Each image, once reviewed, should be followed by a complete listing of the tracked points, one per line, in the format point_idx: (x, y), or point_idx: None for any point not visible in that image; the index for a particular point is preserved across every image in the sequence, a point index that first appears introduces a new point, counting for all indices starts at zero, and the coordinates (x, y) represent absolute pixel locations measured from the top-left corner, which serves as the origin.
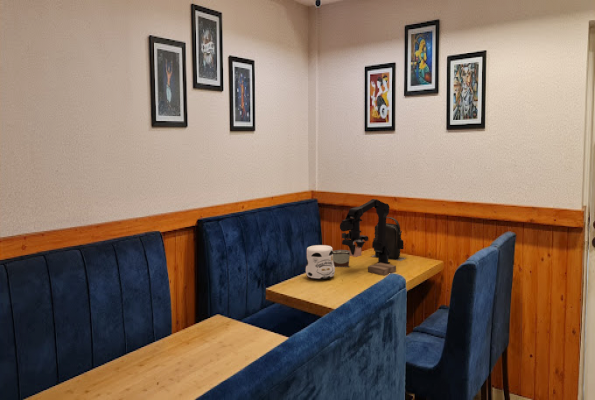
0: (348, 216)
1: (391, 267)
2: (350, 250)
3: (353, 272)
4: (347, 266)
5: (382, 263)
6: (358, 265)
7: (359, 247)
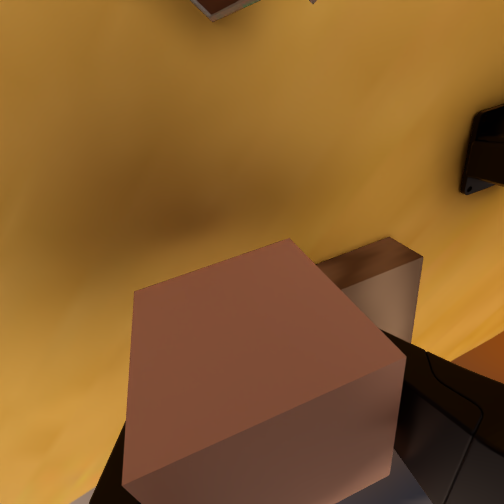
0: None
1: None
2: (103, 473)
3: (147, 248)
4: (202, 4)
5: (408, 287)
6: (340, 46)
7: (372, 468)
